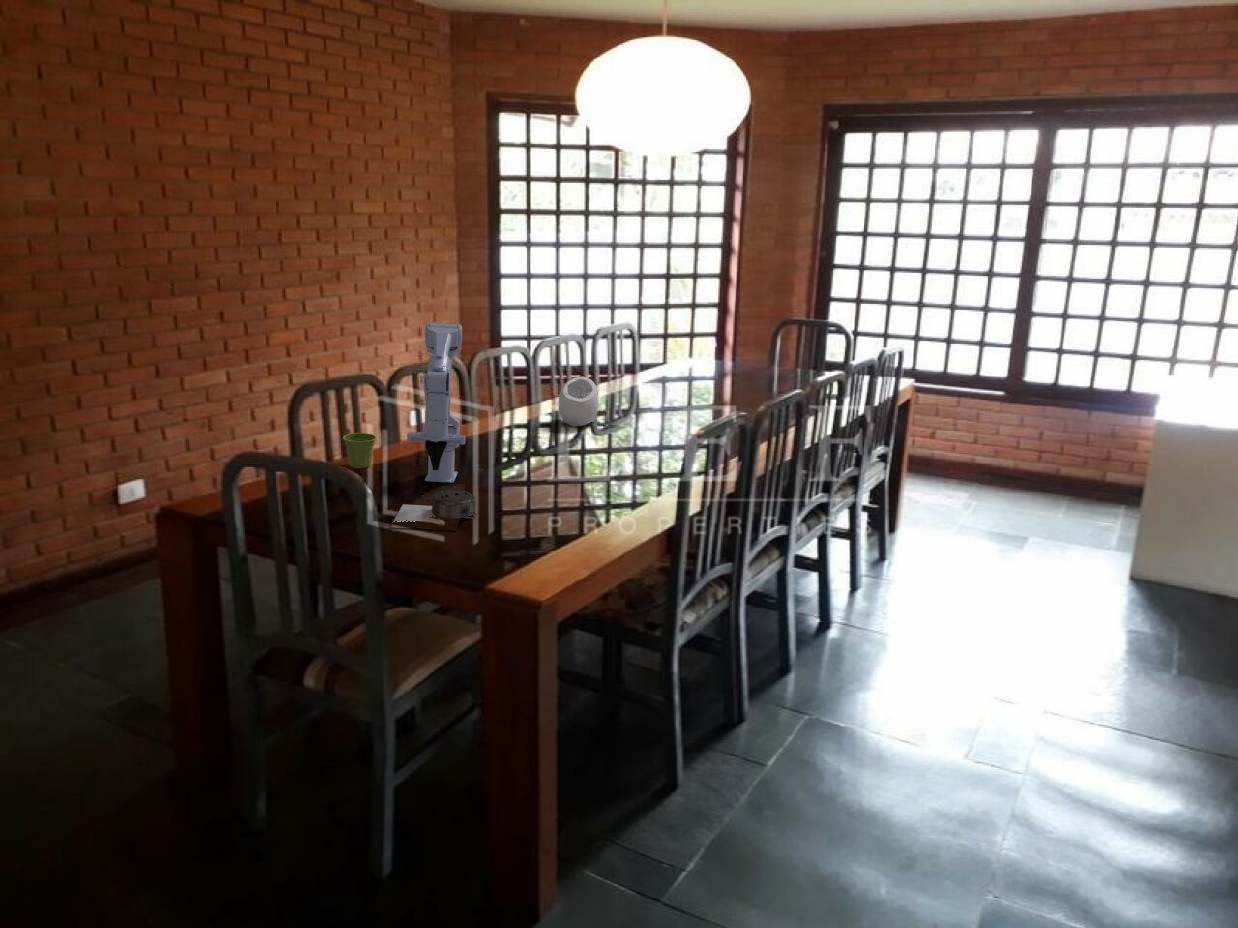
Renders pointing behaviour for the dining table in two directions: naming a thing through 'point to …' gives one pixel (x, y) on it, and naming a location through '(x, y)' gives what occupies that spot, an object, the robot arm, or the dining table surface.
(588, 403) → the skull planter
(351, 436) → the plant pot
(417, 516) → the mat
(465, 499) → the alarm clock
